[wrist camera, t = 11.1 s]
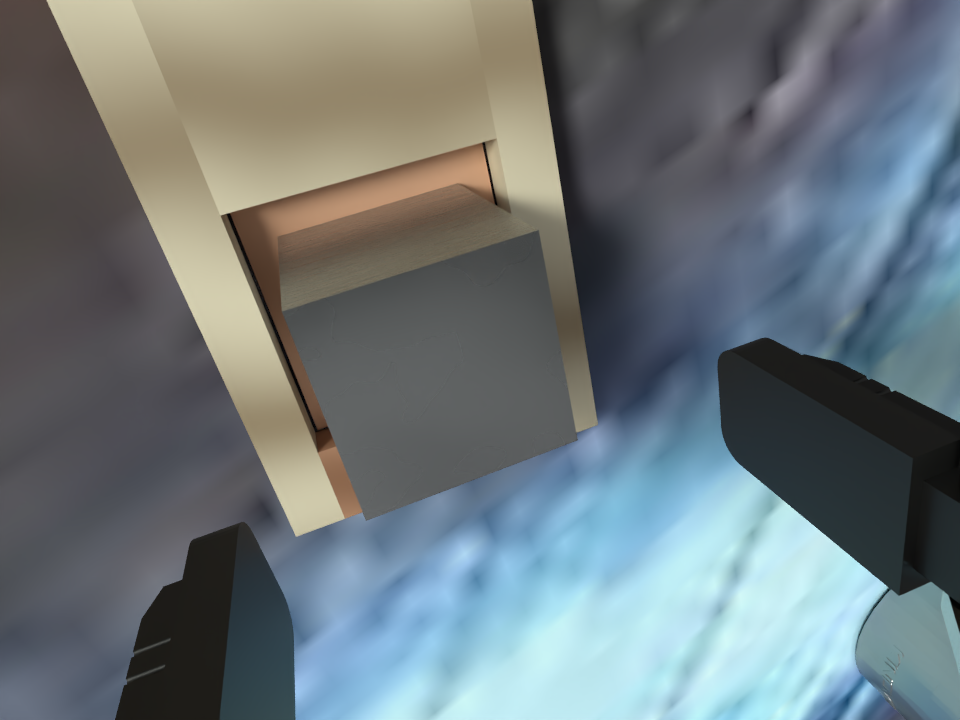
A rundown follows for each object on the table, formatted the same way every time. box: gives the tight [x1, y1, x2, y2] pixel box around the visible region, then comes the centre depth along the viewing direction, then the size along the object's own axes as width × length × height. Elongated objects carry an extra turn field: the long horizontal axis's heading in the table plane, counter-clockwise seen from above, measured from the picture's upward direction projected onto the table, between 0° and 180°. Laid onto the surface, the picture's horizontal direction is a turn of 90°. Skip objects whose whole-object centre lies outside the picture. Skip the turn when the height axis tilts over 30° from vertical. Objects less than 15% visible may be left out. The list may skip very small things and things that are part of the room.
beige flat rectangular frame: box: [47, 0, 598, 537], centre depth 15 cm, size 24×10×1 cm, turn 13°
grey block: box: [278, 183, 578, 521], centre depth 16 cm, size 5×5×6 cm
